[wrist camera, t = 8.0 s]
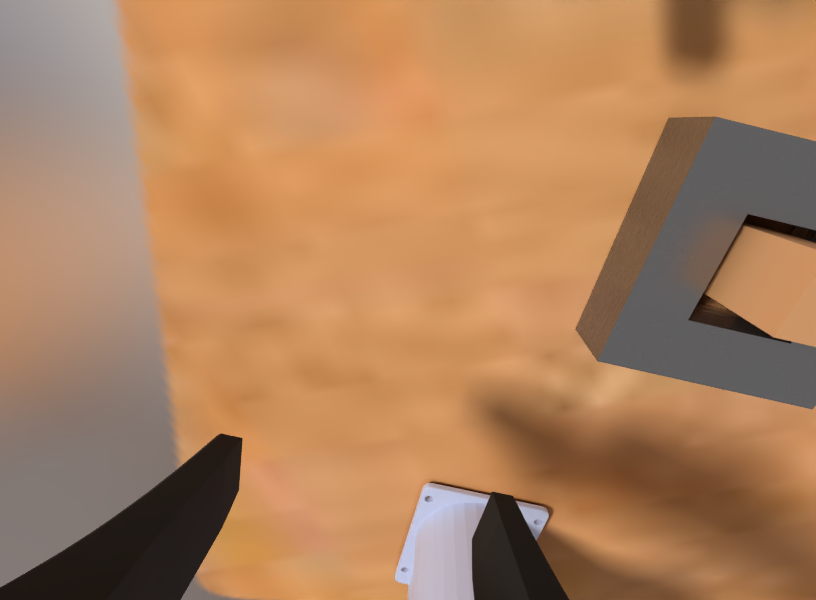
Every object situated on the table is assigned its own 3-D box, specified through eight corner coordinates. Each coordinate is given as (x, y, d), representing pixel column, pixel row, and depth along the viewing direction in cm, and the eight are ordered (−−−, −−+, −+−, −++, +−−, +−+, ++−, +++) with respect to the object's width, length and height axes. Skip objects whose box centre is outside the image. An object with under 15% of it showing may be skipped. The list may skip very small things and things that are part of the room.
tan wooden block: (736, 290, 19) (856, 356, 14) (676, 276, 19) (773, 337, 14) (773, 229, 18) (920, 275, 13) (709, 214, 18) (829, 254, 12)
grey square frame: (762, 371, 21) (812, 409, 18) (575, 329, 21) (597, 361, 18) (898, 174, 17) (989, 184, 14) (668, 117, 17) (715, 116, 14)
